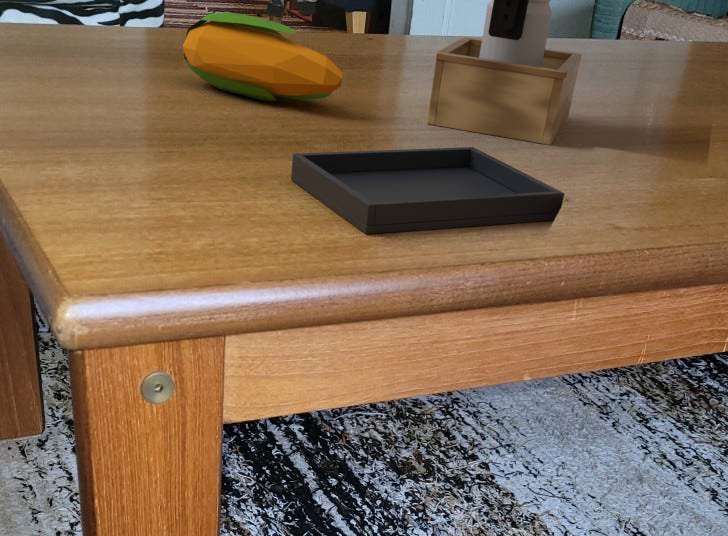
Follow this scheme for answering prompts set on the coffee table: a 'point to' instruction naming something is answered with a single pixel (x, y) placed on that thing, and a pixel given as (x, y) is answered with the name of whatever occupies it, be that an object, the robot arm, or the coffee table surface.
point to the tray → (423, 189)
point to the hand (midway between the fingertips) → (513, 31)
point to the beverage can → (528, 45)
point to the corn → (257, 59)
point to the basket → (502, 93)
